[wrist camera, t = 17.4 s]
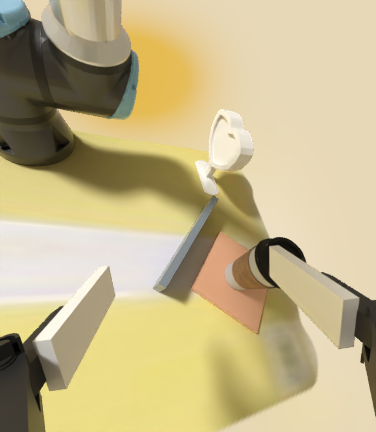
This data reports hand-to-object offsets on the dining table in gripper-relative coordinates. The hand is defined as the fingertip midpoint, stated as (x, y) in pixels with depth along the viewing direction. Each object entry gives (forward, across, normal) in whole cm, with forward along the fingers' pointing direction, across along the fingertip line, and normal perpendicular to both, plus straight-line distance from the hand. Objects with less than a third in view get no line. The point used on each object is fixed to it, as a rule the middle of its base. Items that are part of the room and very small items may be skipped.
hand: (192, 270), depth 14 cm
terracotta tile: (+24, +10, -16) cm, 30 cm away
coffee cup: (+23, +10, -16) cm, 30 cm away
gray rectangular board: (+26, 0, -7) cm, 27 cm away
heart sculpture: (+42, +9, +7) cm, 44 cm away
